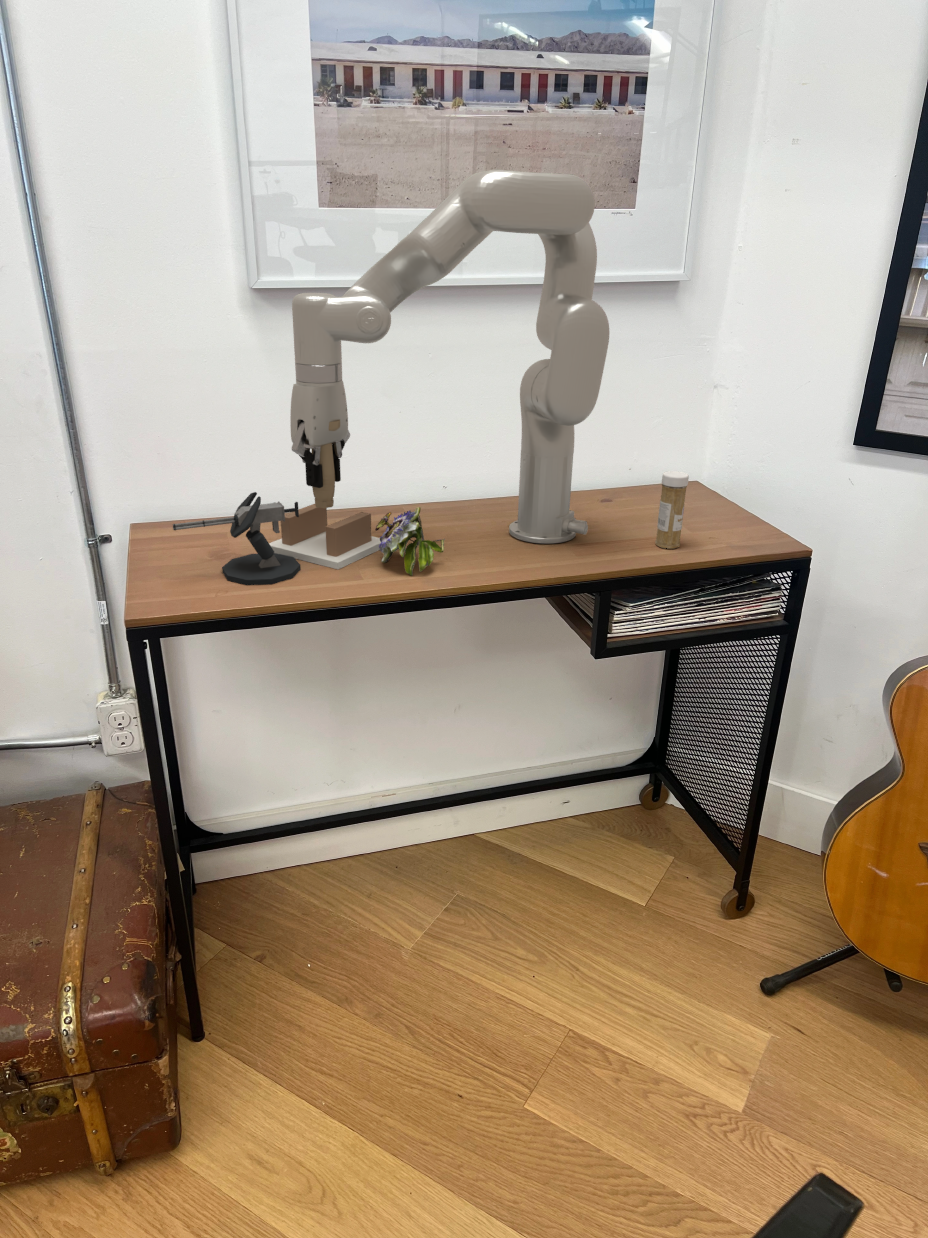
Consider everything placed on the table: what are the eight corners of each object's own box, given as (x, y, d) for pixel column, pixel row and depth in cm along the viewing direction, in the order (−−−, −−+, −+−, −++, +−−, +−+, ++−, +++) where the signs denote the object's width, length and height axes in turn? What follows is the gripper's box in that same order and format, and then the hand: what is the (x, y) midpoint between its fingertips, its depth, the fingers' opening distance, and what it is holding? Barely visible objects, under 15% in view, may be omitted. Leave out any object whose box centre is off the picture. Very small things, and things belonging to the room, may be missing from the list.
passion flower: (387, 592, 151) (369, 527, 153) (447, 576, 153) (429, 512, 154) (388, 578, 140) (369, 508, 141) (453, 561, 141) (434, 492, 143)
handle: (343, 509, 150) (340, 422, 144) (305, 511, 149) (301, 422, 142) (342, 501, 154) (339, 416, 148) (305, 502, 153) (300, 416, 147)
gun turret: (174, 570, 144) (164, 494, 139) (292, 553, 152) (287, 481, 147) (188, 597, 134) (178, 516, 128) (314, 577, 142) (310, 501, 136)
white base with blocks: (387, 546, 156) (386, 512, 154) (338, 569, 145) (336, 534, 143) (318, 529, 164) (316, 497, 161) (266, 551, 153) (263, 517, 150)
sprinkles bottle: (682, 549, 157) (692, 476, 152) (657, 549, 157) (666, 476, 152) (676, 541, 162) (685, 470, 156) (651, 541, 161) (659, 469, 156)
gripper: (333, 365, 150) (337, 470, 158) (266, 377, 137) (273, 490, 145) (368, 370, 147) (370, 476, 154) (302, 382, 134) (308, 498, 141)
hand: (323, 482), depth 149 cm, fingers closed on handle, 4 cm apart
